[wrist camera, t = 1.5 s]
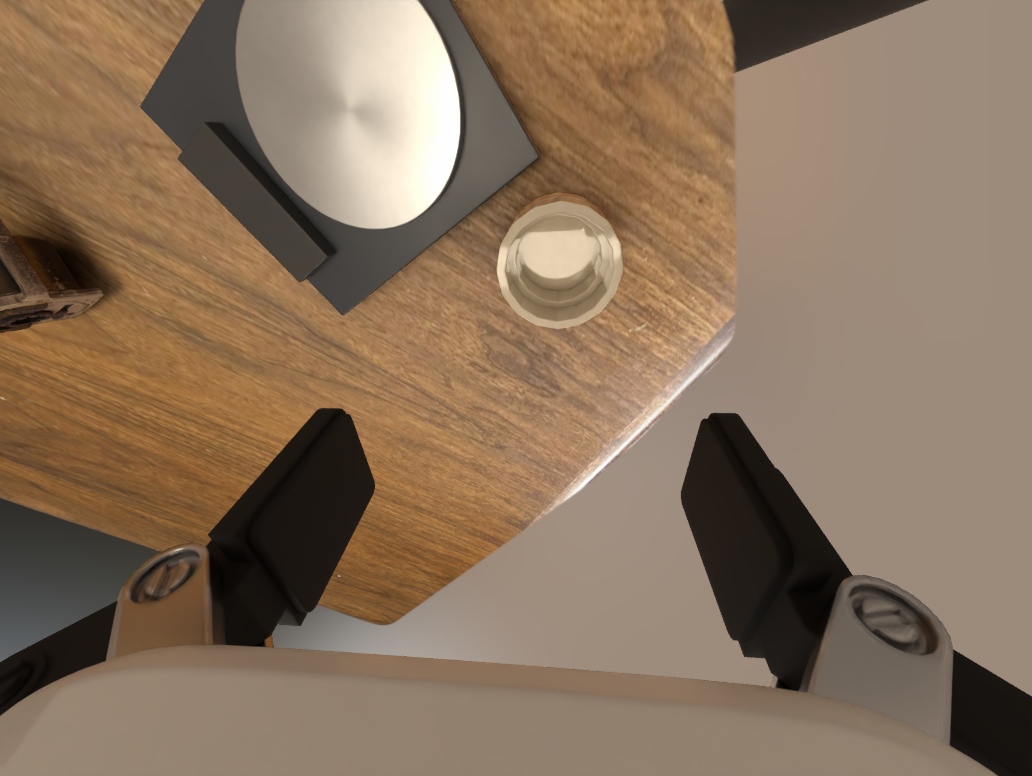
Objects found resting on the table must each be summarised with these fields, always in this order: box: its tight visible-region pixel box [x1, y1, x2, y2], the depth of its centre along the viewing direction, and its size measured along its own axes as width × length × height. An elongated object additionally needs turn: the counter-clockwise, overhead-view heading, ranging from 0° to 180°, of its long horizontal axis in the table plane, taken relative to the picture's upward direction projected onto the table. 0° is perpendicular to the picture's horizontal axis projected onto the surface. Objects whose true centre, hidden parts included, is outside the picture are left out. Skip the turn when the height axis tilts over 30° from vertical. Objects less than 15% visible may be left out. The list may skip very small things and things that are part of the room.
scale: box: [140, 0, 541, 315], centre depth 20 cm, size 16×14×4 cm
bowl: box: [496, 192, 623, 329], centre depth 22 cm, size 7×7×5 cm
